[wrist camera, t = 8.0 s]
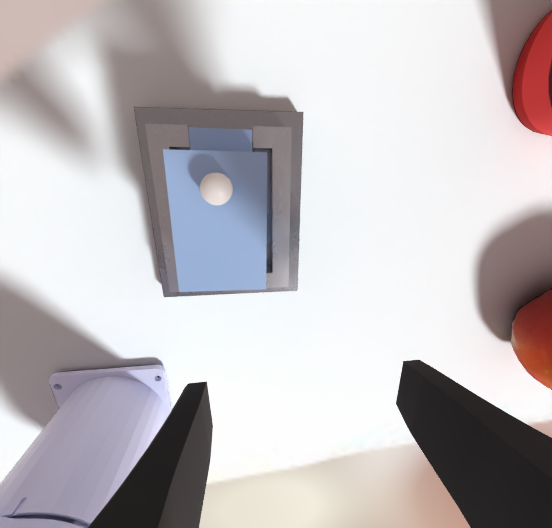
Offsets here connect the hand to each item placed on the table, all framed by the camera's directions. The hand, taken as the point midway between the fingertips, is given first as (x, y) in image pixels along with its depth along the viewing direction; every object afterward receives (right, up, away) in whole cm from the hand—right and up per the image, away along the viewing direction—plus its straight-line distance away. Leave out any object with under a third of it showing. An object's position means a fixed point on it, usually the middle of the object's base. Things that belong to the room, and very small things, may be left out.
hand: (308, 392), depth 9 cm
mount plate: (-4, +8, +7) cm, 12 cm away
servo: (-4, +8, +6) cm, 11 cm away
